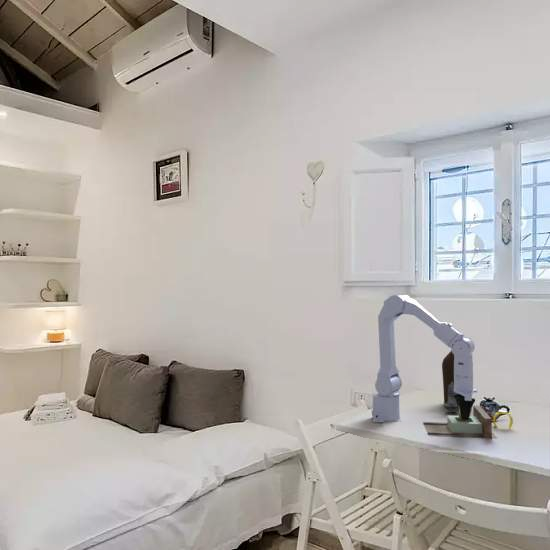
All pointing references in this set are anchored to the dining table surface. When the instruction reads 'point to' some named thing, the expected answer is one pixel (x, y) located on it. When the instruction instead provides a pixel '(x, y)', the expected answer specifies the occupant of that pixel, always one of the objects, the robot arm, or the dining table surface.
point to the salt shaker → (451, 401)
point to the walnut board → (446, 432)
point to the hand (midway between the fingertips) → (464, 418)
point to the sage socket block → (464, 425)
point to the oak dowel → (461, 419)
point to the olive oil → (448, 373)
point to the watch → (502, 413)
